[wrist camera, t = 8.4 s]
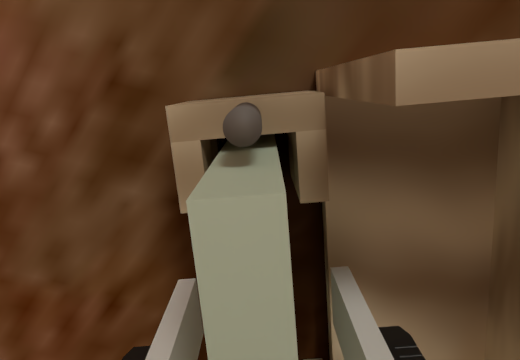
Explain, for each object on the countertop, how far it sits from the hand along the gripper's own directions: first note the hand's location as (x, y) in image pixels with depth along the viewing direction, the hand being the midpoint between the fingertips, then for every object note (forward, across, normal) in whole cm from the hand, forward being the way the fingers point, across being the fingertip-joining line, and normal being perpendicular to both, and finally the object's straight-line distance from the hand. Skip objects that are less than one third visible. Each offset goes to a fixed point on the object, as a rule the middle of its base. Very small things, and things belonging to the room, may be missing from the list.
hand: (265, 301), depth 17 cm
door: (+2, 0, 0) cm, 2 cm away
